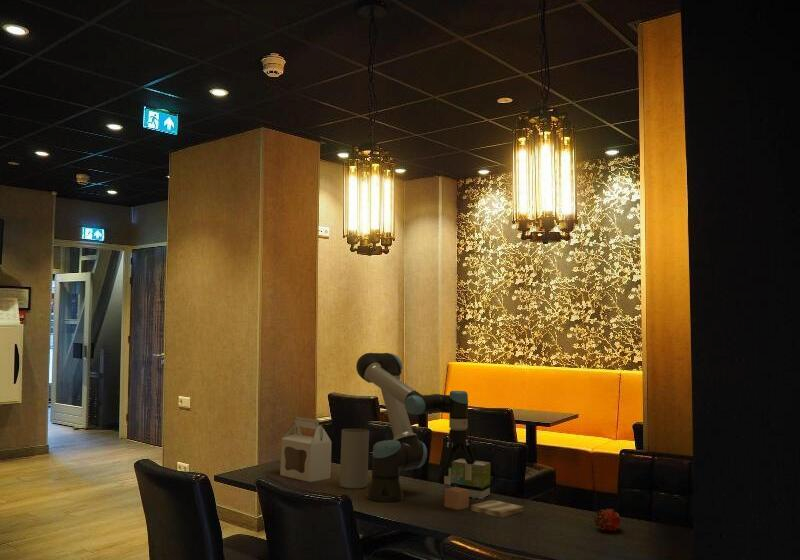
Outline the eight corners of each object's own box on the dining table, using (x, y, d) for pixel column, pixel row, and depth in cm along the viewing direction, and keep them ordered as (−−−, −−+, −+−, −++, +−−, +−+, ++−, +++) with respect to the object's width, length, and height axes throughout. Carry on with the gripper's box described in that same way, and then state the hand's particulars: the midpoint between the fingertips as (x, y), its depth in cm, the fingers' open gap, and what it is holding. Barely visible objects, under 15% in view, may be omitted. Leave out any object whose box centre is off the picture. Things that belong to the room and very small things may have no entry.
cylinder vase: (366, 489, 299) (368, 432, 302) (338, 488, 300) (340, 431, 302) (368, 483, 312) (369, 429, 314) (341, 482, 312) (343, 428, 315)
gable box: (279, 475, 326) (282, 416, 329) (300, 471, 336) (303, 415, 339) (309, 482, 311) (312, 421, 314) (330, 478, 321) (333, 419, 324)
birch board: (470, 510, 267) (470, 505, 267) (492, 504, 278) (492, 499, 278) (502, 517, 257) (502, 512, 257) (523, 511, 268) (523, 506, 268)
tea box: (449, 495, 293) (450, 460, 294) (458, 491, 302) (459, 457, 303) (482, 500, 286) (483, 464, 287) (490, 495, 295) (491, 461, 296)
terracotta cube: (444, 506, 272) (444, 489, 273) (455, 504, 278) (455, 486, 278) (458, 510, 268) (458, 492, 268) (468, 507, 273) (469, 489, 273)
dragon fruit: (595, 537, 240) (614, 537, 247) (613, 527, 236) (632, 527, 243) (585, 514, 245) (603, 514, 252) (602, 504, 241) (621, 504, 248)
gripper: (446, 432, 264) (445, 487, 262) (484, 427, 282) (483, 479, 280) (431, 430, 269) (431, 484, 267) (469, 426, 287) (469, 477, 285)
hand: (458, 482), depth 273 cm, fingers open, 13 cm apart
